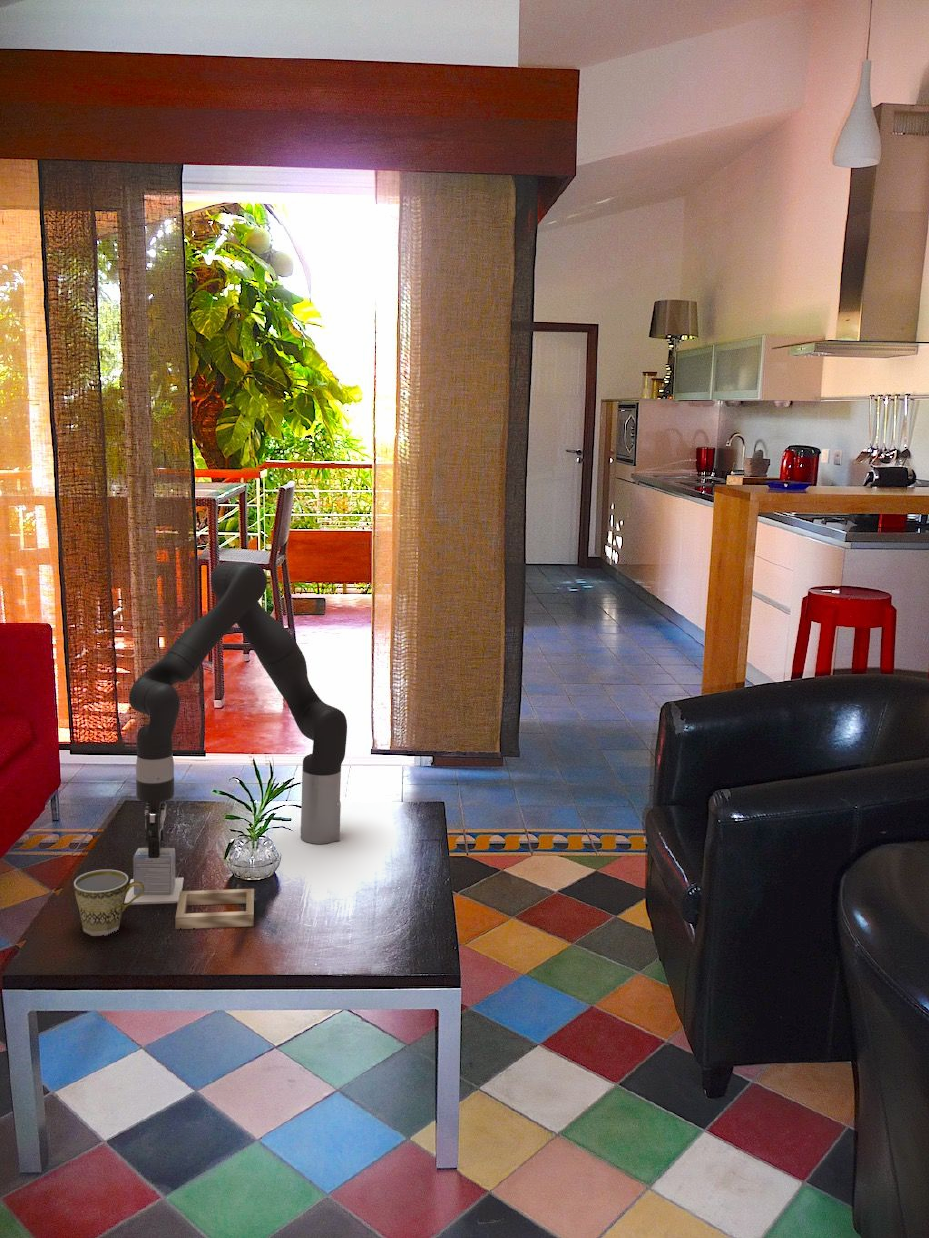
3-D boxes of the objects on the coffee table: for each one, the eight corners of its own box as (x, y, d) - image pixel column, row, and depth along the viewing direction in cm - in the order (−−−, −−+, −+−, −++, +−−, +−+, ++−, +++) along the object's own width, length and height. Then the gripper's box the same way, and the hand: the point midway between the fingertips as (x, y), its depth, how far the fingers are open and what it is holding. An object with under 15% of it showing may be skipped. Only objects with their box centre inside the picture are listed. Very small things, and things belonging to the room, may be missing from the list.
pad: (183, 879, 220) (183, 877, 220) (179, 902, 210) (179, 900, 210) (130, 881, 218) (130, 879, 218) (124, 904, 208) (124, 902, 208)
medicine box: (175, 885, 216) (175, 847, 215) (172, 895, 212) (172, 856, 210) (137, 885, 215) (137, 847, 214) (133, 894, 211) (133, 855, 209)
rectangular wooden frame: (253, 899, 213) (254, 888, 213) (253, 926, 202) (253, 914, 202) (179, 902, 210) (180, 891, 210) (175, 929, 199) (175, 917, 199)
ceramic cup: (70, 941, 192) (69, 892, 190) (79, 916, 202) (78, 869, 200) (141, 938, 195) (141, 890, 193) (147, 914, 204) (147, 867, 202)
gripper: (171, 787, 203) (171, 862, 206) (176, 763, 217) (177, 834, 220) (132, 788, 202) (133, 864, 205) (140, 764, 215) (141, 835, 218)
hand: (156, 848), depth 212 cm, fingers open, 8 cm apart
